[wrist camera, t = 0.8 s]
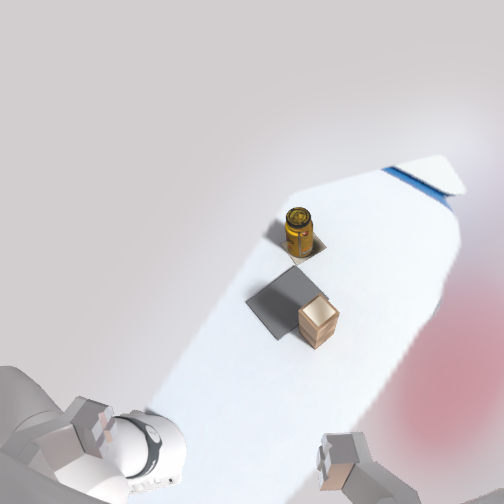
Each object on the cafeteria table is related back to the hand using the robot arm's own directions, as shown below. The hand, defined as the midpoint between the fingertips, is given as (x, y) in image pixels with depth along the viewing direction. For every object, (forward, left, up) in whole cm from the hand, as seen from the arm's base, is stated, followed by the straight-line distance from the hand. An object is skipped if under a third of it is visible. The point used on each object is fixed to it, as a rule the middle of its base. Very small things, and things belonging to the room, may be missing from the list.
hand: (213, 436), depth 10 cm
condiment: (+29, +29, -51) cm, 66 cm away
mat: (+17, +21, -51) cm, 58 cm away
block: (+17, +11, -51) cm, 55 cm away
